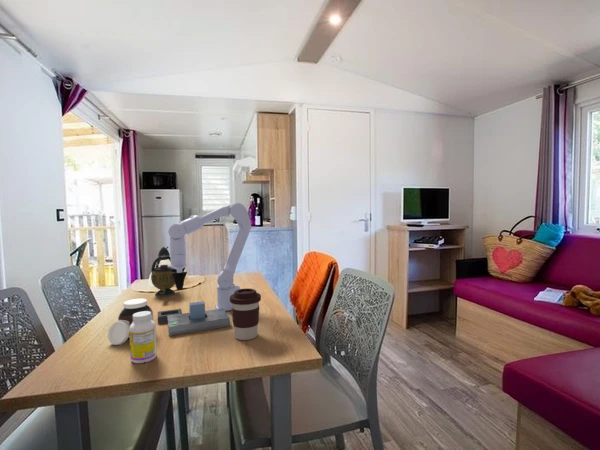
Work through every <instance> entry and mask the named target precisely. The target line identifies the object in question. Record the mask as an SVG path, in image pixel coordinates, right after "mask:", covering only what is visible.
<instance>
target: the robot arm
mask: <svg viewBox="0 0 600 450" xmlns="http://www.w3.org/2000/svg"><path fill="white" fill-rule="evenodd" d="M230 216H231V217H232V218H233V219H234V220H235V221H236V223H237V225H238V230H237V233H236V236H235V238H234V241H233V243H232V246H231V249H230V251H229V254H228V256H227V259H226V262H225V264H224V266H223V269H221V270H220V271H219V273H218V275H217V286H216V297H217V298H216V299H217V300H216V301H217V303H216V305H215V306H214V307H215V309H221V308H223V309H224V310H225V312H227V311H232V303H231V302H230V296H231V295H233V294H234V292H235V291H236V290H239V289H241V288H240V287H241V286H240V285H236V284H234V282H235V281H234V275H235V273H236V268H237V267H238V266H237V265H238V263H239V260H240V259H241V255H242V252H243V250H244V247H245V246H246V242H247V240H248V237H249V234H250V231H251V229H252V222H251V219H250V215H249V212H248V209H247V208H246V207H245V205H244V204H242V203H241V202H234V203H233V204H232V205H231V204H229V205H225V206H221V207H219V208H217V209H215V210H213V211H211V212H208V213H206V214H204V215H202V216H199V215H198V214H196V215H194V214H192V215H190V216H189V217H188V218H187V219H184V220H179V221H178V223H174V224H172V225H171V226H170V227H169V228H168V235H169V237H170V238H169V240H170V241H169V254H170V258H171V262H170V264H167V265H168V267H171V271H172V272H171V273H172V275H173V277H174V280H175V288H176V290H177V291H180V290H182V291H183V289H184V283H185V278H186V276H187V275H188V271H185V270H186V267H187V258H186V256H187V255H186V240H185V238H186V237H185V235H189V234H192V233H194V232H196V231H199V230H201V229H203V228H204V225H205V224H206V223H208V222H212V221H214V220H216V219H219V218H222V217H226V218H228V217H230Z"/></svg>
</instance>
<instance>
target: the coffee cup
mask: <svg viewBox="0 0 600 450" xmlns="http://www.w3.org/2000/svg"><path fill="white" fill-rule="evenodd" d="M261 300H262V296H261V294H260V293H259V292H257V290H256V289H253V288H240V289H239V290H236V291H235V292H234V294H233V295H231V296H230V302H231V303H232V310H231V316H232V325H233V330H234V338H236V339H237V340H240V341H250V340H253V339H255V338H256V337H257V336H258V330H259V329H258V327H259V319H260V301H261Z"/></svg>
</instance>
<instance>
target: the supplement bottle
mask: <svg viewBox="0 0 600 450" xmlns="http://www.w3.org/2000/svg"><path fill="white" fill-rule="evenodd" d="M153 320H154V319H153ZM153 320H151V312H150V311H142V312H137V313H135V314H133V321H134V323H132V324H131V325H130V327H129V335H130V340H129V349H130V350H129V355H130V356H129V357H130V360H131V362H132V363H134V364H145V363H148V362H151V361H153V360H154V359H156V357H157V354H158V352H157V350H158V349H157V330H156V329H157V327H156V321H153ZM144 362H145V363H144Z"/></svg>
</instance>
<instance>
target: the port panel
mask: <svg viewBox="0 0 600 450" xmlns="http://www.w3.org/2000/svg"><path fill="white" fill-rule="evenodd" d="M167 320H168V322H167V331H168V336H169V337H172V336H178V335H184V333H185V334H190V333H195V332H203V331H209V330H214V329H215V330H217V329H221V328H228V327H231V322H230V321H231V319H230V316H229V315H228V314H227V311H225V310H224V309H223V308H221V309H216V308H215V309H207V310H205V318H200V319H193V320H190V312H185V313H182V314H177V315H170V316H167Z"/></svg>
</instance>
